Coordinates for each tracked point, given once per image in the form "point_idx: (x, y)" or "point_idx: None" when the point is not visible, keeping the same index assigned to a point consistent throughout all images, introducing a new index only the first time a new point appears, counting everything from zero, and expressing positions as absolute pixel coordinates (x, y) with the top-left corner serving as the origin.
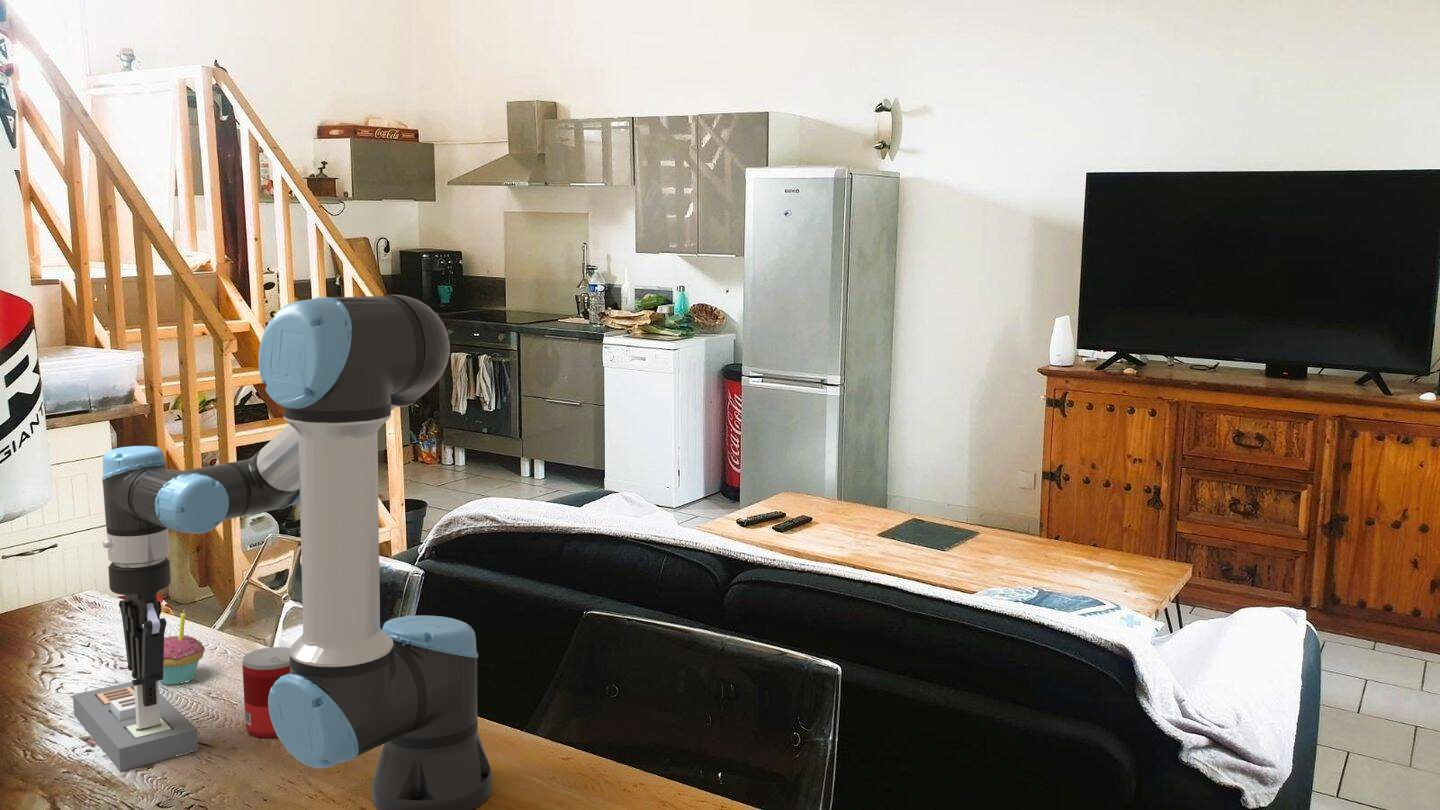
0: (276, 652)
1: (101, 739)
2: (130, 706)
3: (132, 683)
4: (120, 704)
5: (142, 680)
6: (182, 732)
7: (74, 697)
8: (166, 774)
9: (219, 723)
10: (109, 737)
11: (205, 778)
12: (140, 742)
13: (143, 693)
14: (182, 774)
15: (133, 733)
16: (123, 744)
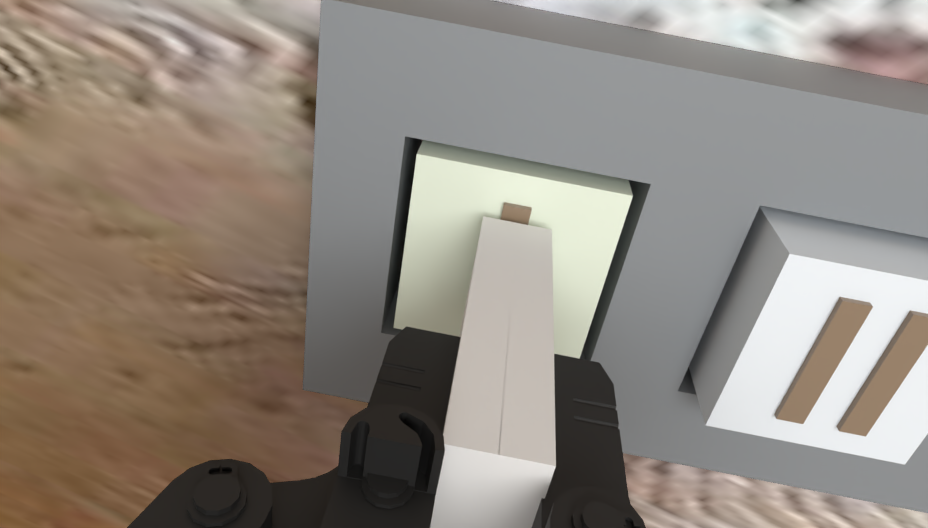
0: None
1: (755, 63)
2: (792, 329)
3: (432, 424)
4: (895, 310)
5: (199, 488)
6: (311, 335)
7: None
8: (178, 120)
9: None
10: (561, 46)
11: (37, 206)
12: (329, 138)
13: (422, 400)
14: (134, 166)
15: (489, 174)
16: (373, 53)
